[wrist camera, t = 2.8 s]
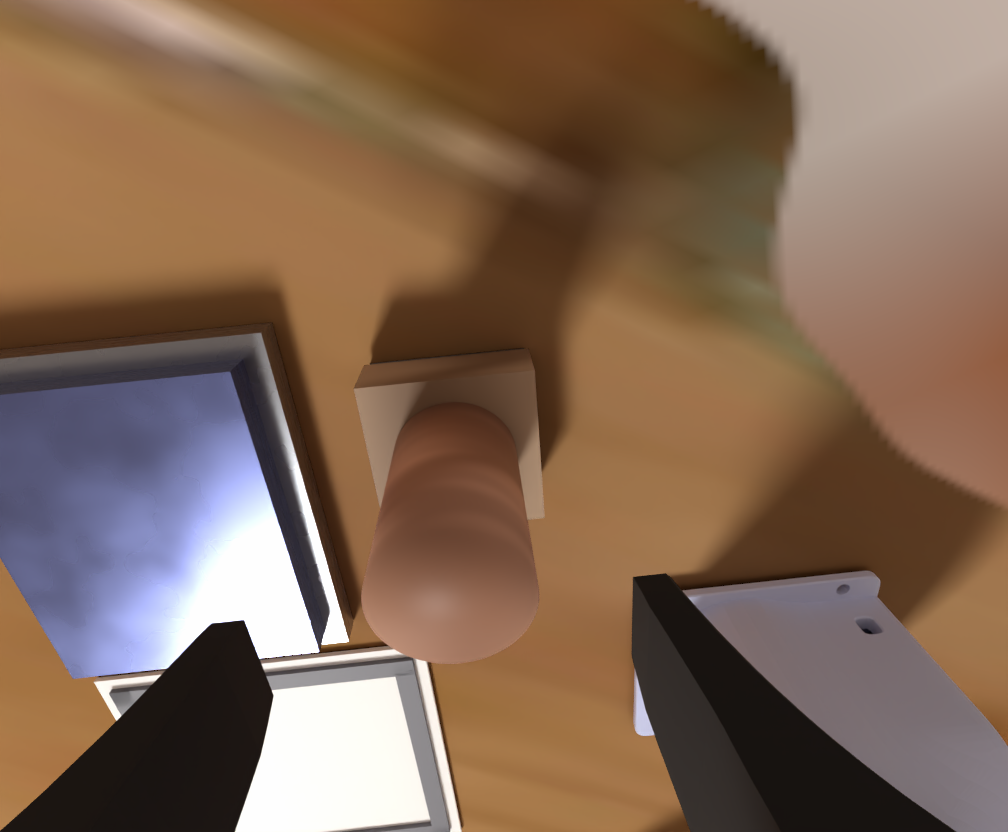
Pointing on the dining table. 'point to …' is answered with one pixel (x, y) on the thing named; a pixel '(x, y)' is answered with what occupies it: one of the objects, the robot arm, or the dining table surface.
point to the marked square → (340, 745)
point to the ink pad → (163, 499)
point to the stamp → (452, 502)
